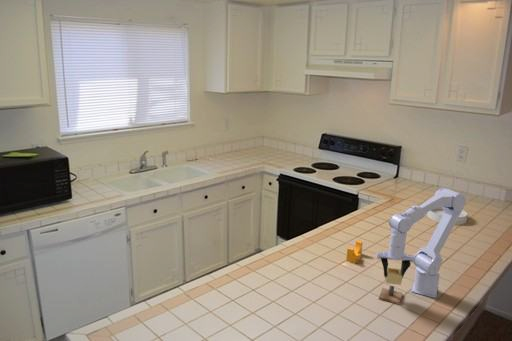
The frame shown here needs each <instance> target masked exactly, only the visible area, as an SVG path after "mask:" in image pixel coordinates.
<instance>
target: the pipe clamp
mask: <svg viewBox="0 0 512 341" xmlns="http://www.w3.org/2000/svg"><path fill="white" fill-rule="evenodd" d="M363 243H364V242H363V241H361V240H357V241H355V245H354V248H353V247H348V248H347V250H346V251H347V252H346V260H345V261H346V262H348V263H349V262H350V263H352V264H356V263H357V262H358V261H360V260H361V256H362V252H363V251H362V250H363Z"/></svg>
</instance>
